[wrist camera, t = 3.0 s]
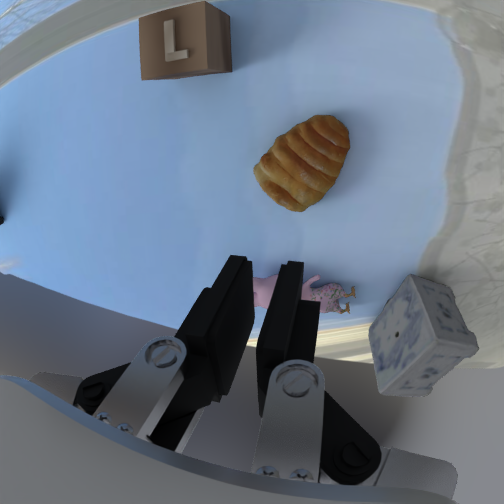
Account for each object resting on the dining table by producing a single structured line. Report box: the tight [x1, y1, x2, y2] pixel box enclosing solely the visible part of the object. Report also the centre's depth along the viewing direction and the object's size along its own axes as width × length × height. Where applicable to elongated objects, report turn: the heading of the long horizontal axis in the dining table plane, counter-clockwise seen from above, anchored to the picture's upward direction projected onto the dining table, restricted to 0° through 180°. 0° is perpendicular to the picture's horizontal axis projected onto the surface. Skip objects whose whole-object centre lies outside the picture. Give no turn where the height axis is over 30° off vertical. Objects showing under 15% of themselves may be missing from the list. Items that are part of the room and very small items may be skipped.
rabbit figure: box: [253, 274, 356, 314], centre depth 32 cm, size 6×6×15 cm
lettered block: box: [139, 1, 232, 80], centre depth 20 cm, size 6×6×6 cm
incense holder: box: [368, 274, 479, 397], centre depth 27 cm, size 10×8×10 cm
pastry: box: [253, 115, 350, 212], centre depth 25 cm, size 9×7×4 cm
